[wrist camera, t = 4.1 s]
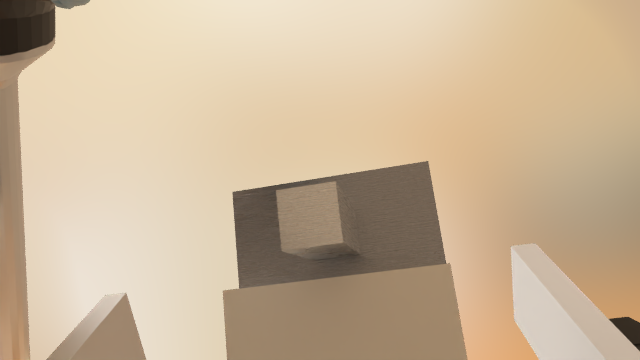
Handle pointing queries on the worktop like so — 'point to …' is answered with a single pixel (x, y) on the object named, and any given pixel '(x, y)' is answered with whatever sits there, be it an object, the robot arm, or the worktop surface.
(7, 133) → the robot arm
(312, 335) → the riser
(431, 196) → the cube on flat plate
